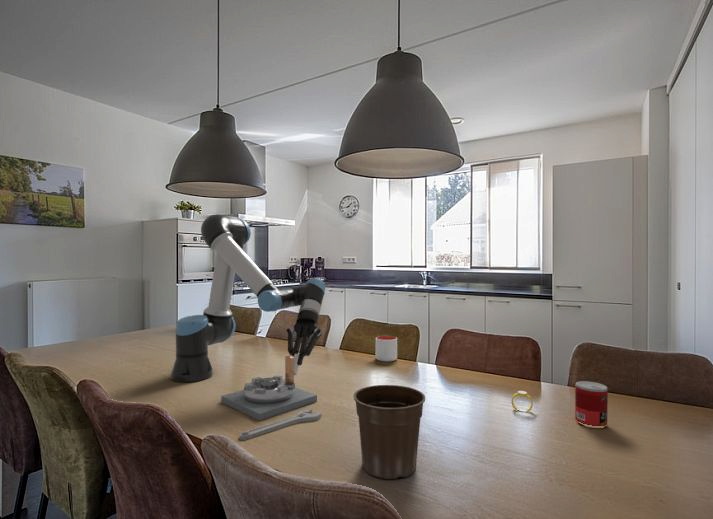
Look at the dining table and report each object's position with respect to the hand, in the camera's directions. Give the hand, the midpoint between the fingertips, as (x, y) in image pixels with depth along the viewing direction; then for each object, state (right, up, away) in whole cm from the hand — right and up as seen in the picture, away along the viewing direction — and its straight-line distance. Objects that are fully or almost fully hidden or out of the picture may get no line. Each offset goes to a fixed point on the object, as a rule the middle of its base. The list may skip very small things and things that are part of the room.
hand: (293, 373), depth 134 cm
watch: (+72, -9, -9) cm, 73 cm away
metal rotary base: (-8, -7, -1) cm, 10 cm away
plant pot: (+28, -10, -42) cm, 51 cm away
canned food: (+88, -10, -18) cm, 90 cm away
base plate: (-8, -9, -1) cm, 12 cm away
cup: (+35, -9, +54) cm, 65 cm away
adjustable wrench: (0, -10, -19) cm, 22 cm away
